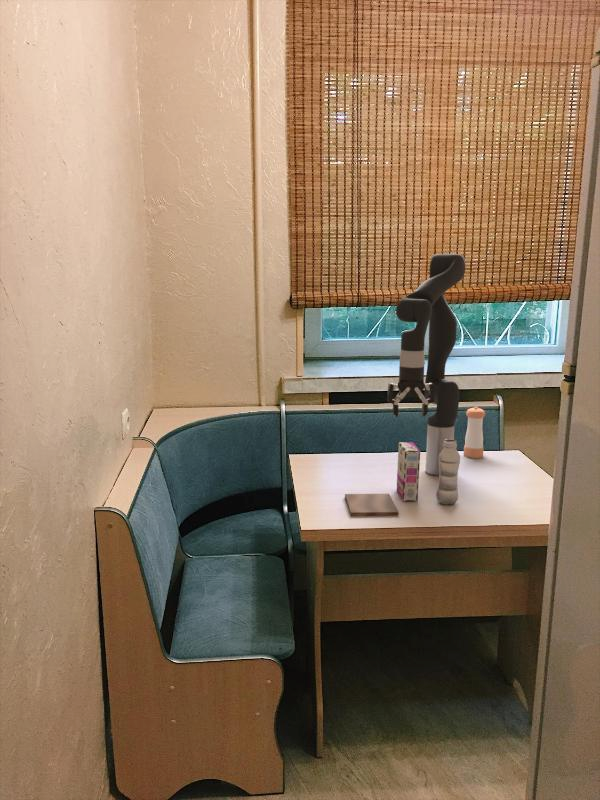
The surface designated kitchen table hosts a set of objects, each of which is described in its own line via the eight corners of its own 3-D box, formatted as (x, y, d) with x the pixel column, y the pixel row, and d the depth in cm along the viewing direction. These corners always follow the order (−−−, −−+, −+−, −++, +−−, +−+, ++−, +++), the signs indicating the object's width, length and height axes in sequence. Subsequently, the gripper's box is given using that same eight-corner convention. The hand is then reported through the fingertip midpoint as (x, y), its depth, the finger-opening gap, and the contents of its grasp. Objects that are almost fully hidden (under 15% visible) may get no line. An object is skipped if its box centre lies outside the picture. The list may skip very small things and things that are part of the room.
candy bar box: (418, 502, 217) (421, 451, 214) (402, 502, 217) (404, 451, 213) (411, 490, 228) (413, 441, 225) (396, 490, 228) (397, 441, 224)
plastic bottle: (433, 499, 219) (436, 438, 215) (454, 499, 220) (457, 437, 215) (439, 507, 213) (442, 443, 209) (460, 506, 213) (464, 443, 209)
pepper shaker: (464, 457, 264) (466, 408, 260) (462, 452, 271) (465, 404, 267) (483, 458, 263) (486, 409, 259) (482, 453, 270) (485, 404, 266)
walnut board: (388, 497, 221) (389, 493, 221) (398, 515, 206) (398, 511, 205) (344, 497, 220) (344, 494, 220) (350, 516, 205) (350, 512, 205)
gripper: (432, 362, 218) (429, 413, 221) (386, 362, 217) (385, 413, 220) (437, 366, 210) (435, 418, 214) (390, 366, 210) (389, 419, 213)
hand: (409, 416), depth 217 cm, fingers open, 8 cm apart
